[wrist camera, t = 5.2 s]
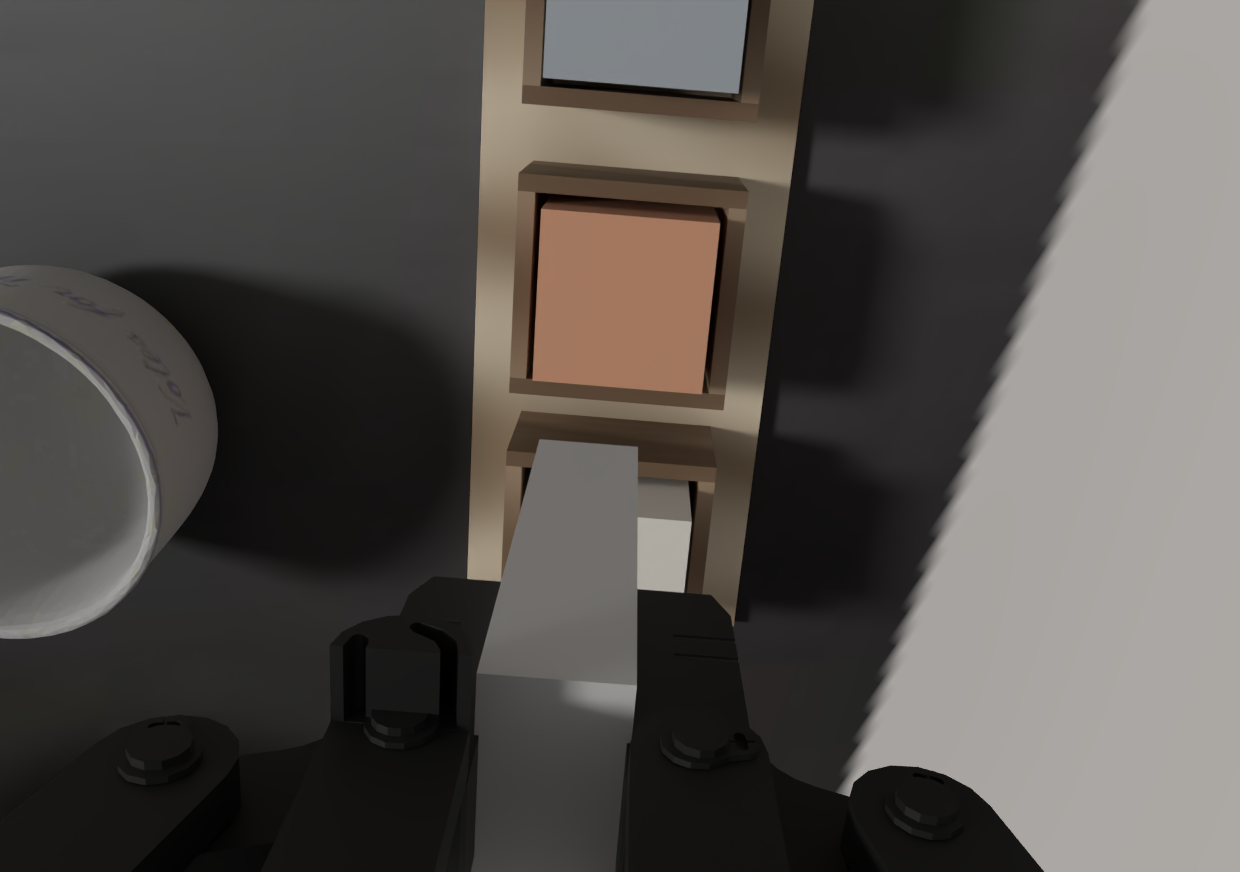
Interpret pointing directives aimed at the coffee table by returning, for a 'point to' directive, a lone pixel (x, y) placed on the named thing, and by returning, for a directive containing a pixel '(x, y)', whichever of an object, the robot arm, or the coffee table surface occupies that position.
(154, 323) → the teacup
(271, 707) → the coffee table surface
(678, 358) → the button terracotta
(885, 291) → the coffee table surface
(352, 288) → the coffee table surface
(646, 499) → the button cream
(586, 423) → the button board
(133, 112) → the coffee table surface
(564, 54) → the button slate
